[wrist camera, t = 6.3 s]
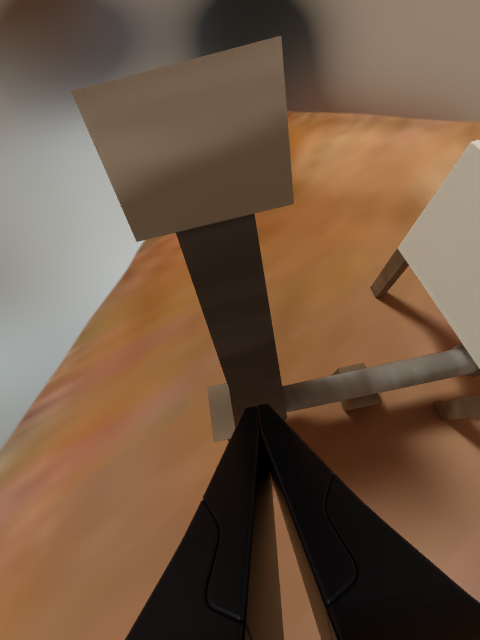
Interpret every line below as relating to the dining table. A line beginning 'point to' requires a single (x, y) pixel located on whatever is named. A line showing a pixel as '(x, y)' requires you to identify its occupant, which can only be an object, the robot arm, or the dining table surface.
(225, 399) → the peg stand
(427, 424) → the dining table surface
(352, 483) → the dining table surface
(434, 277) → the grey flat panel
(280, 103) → the block-topped post frame
